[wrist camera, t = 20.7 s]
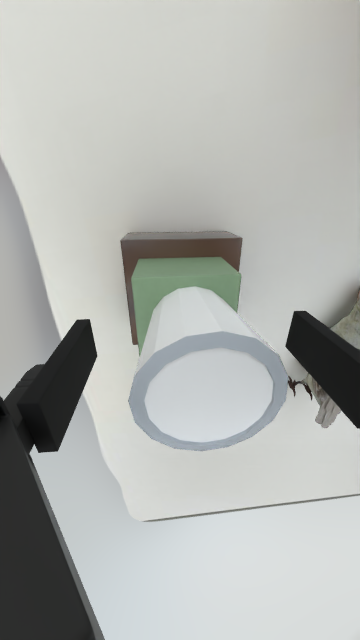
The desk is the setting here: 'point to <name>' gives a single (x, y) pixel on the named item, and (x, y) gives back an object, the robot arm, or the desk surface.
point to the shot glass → (204, 375)
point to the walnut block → (174, 253)
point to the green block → (179, 284)
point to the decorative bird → (355, 331)
